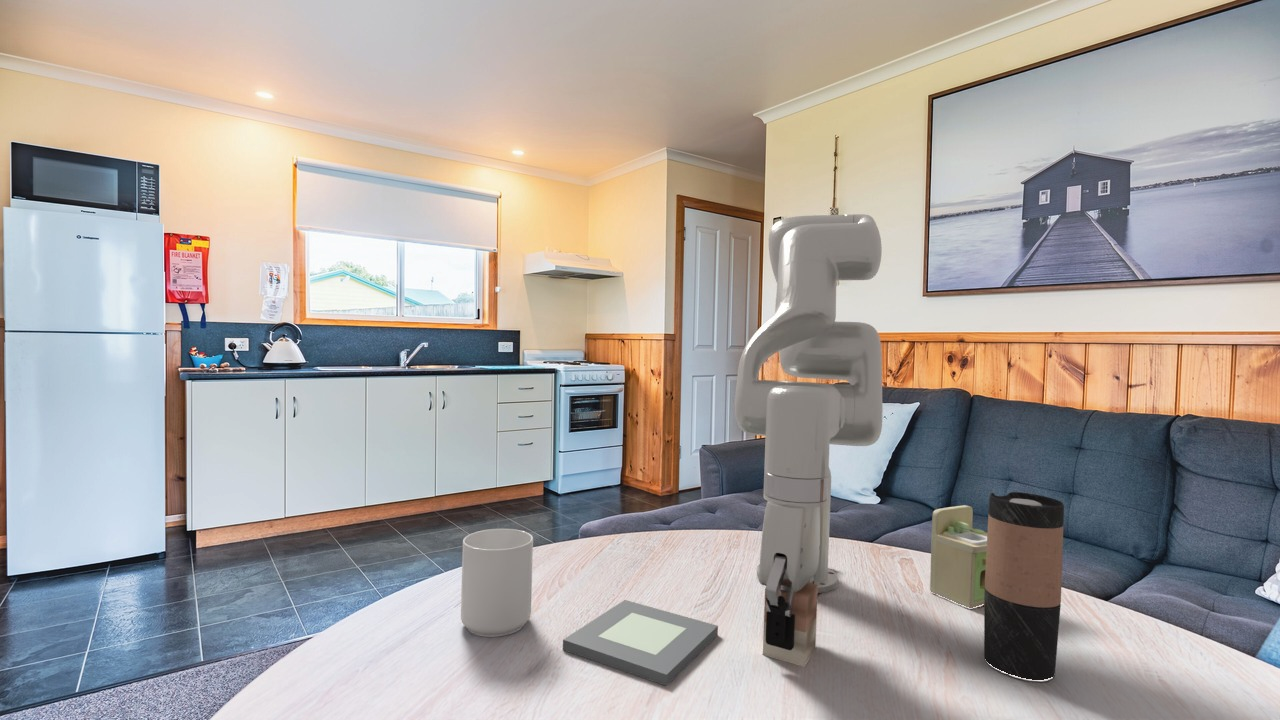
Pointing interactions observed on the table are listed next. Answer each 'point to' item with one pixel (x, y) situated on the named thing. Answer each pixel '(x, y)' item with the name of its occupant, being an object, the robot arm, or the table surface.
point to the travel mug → (1023, 584)
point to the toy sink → (958, 556)
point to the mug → (496, 581)
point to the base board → (642, 640)
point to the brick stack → (798, 627)
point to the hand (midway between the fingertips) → (790, 631)
